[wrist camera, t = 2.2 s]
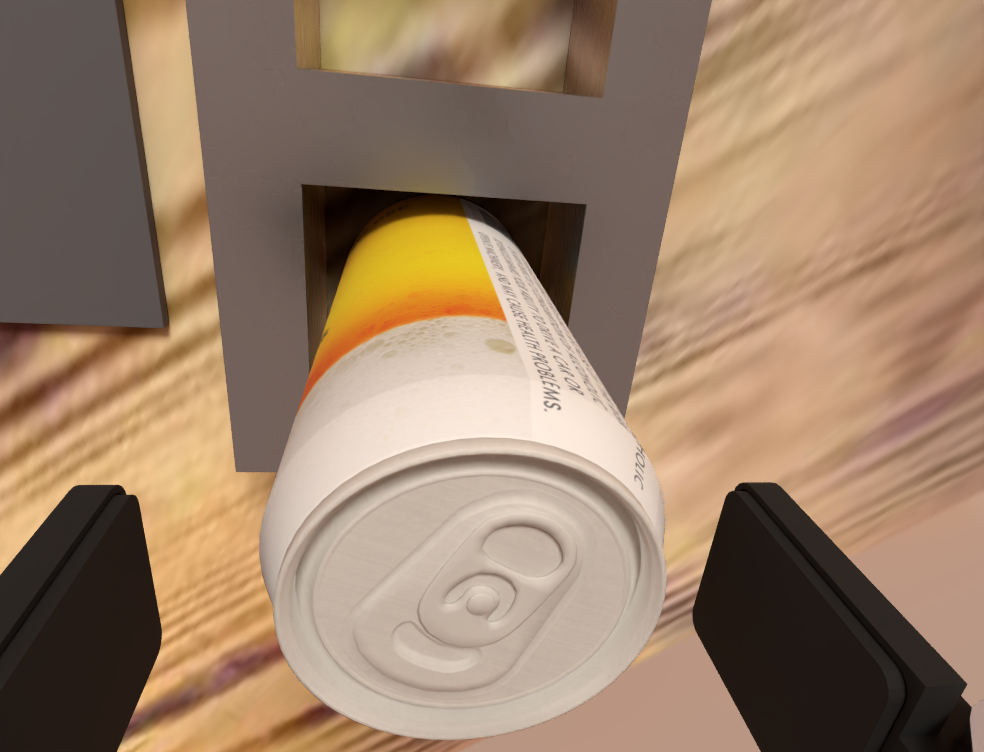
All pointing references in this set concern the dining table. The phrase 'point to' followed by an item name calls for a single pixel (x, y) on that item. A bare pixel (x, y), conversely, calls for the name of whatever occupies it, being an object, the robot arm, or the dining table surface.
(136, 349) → the dining table surface
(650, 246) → the cinder block
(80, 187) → the mat
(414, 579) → the beer can
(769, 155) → the dining table surface
